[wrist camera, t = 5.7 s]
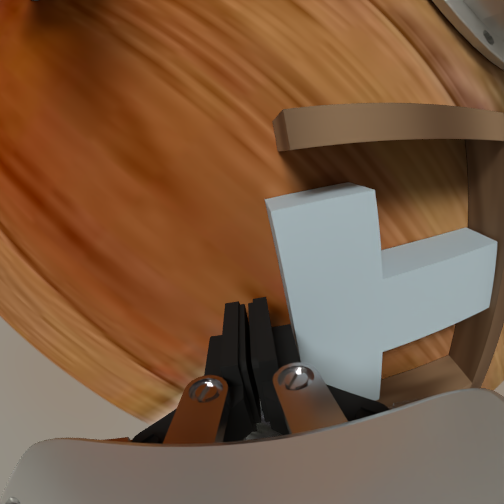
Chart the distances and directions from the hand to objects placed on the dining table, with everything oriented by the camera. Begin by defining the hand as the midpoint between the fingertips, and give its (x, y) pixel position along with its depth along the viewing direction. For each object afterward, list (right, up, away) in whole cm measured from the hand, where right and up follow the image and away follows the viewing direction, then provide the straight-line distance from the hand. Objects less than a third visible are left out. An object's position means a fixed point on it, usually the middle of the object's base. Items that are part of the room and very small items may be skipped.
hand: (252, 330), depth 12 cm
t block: (+7, +2, +1) cm, 7 cm away
